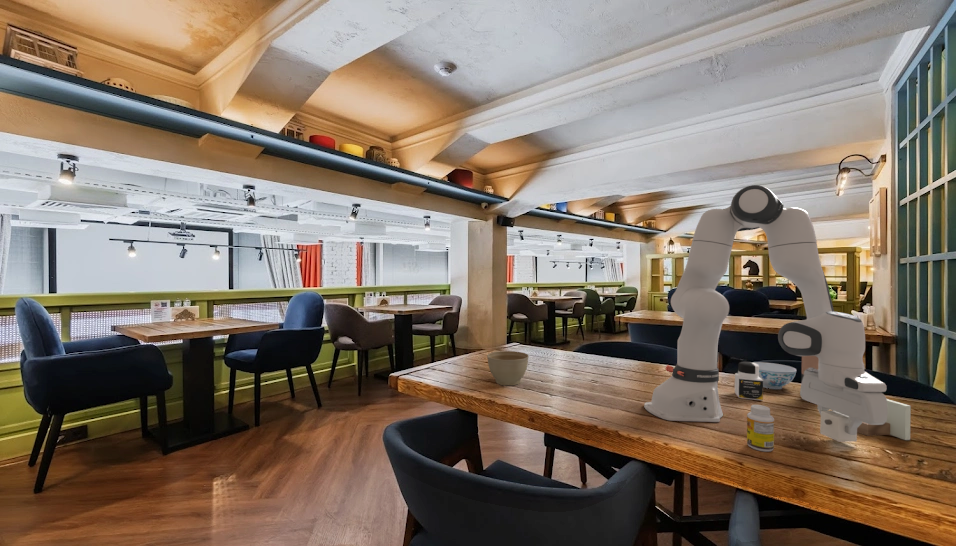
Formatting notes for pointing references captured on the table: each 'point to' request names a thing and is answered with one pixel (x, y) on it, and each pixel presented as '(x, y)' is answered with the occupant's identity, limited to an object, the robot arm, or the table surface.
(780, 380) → the chinaware
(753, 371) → the medicine bottle
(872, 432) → the cleat ledge
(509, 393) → the table surface
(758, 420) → the supplement bottle
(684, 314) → the robot arm
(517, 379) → the planter bowl
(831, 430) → the cabinet block
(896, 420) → the wall board
